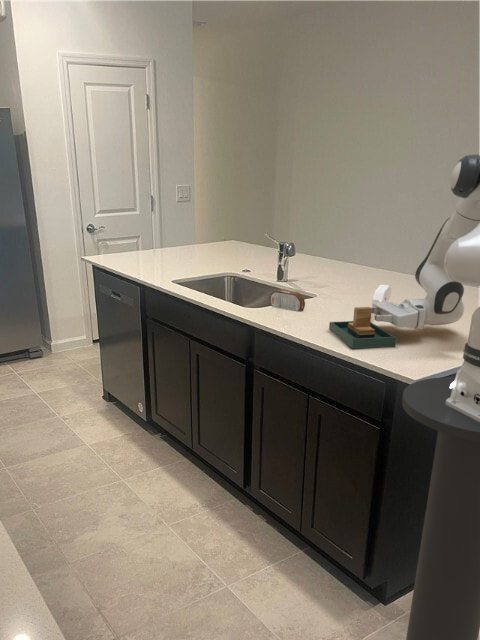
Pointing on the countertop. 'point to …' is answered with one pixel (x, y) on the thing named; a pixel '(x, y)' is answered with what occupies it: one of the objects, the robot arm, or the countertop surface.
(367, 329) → the wooden inverted t block
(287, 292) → the tin
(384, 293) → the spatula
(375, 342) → the tray
